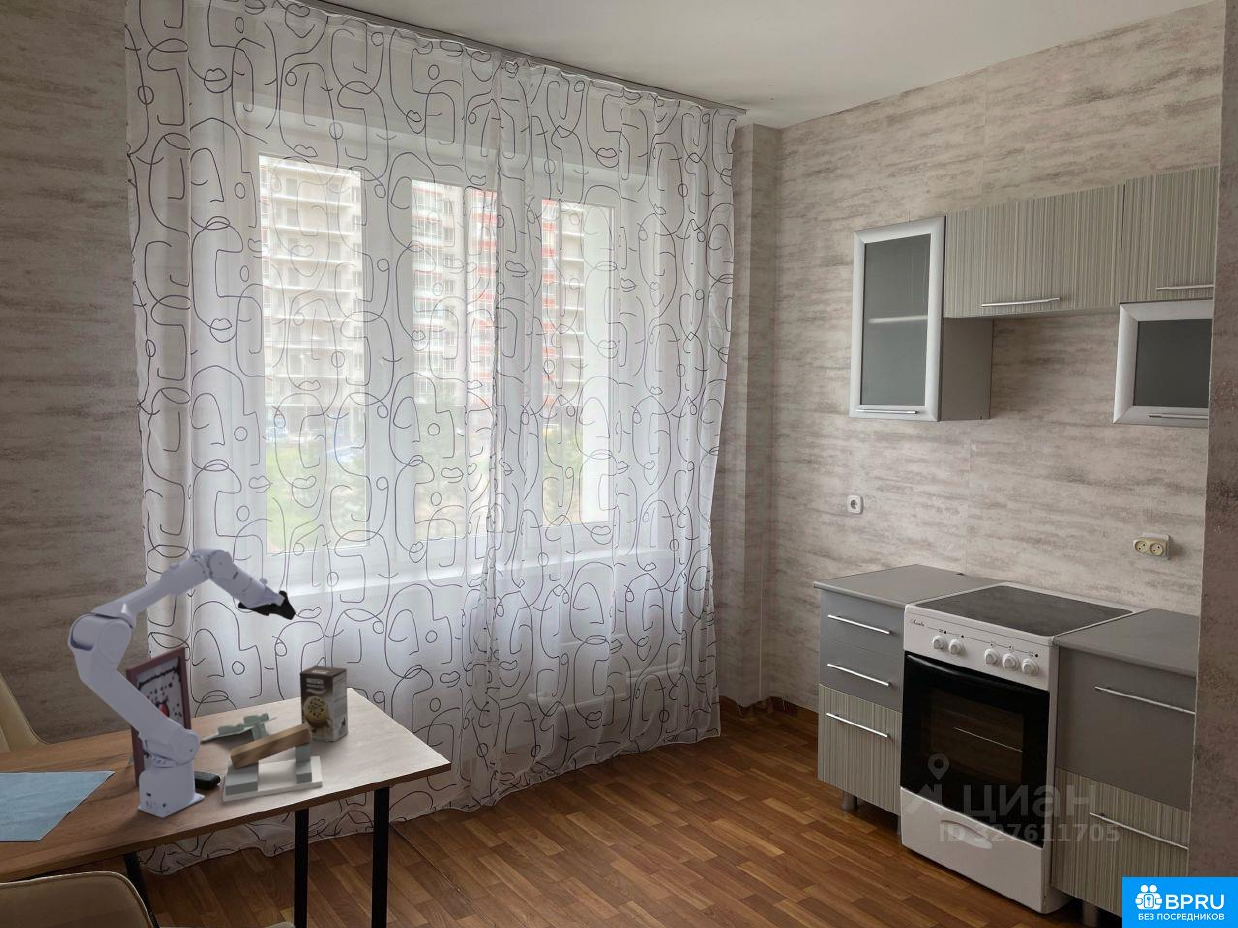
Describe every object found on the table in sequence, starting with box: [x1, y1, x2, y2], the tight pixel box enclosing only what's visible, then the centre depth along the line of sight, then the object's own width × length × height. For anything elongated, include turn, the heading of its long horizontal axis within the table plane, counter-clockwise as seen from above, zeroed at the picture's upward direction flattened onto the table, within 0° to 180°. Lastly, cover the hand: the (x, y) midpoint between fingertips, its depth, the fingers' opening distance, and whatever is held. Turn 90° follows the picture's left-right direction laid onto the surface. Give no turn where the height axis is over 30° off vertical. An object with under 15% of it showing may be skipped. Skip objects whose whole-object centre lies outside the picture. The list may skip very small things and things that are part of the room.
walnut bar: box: [229, 722, 313, 769], centre depth 189 cm, size 16×4×3 cm, turn 111°
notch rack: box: [222, 741, 323, 803], centre depth 187 cm, size 19×14×6 cm
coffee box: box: [299, 665, 349, 742], centre depth 210 cm, size 9×6×16 cm
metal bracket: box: [200, 712, 277, 743], centre depth 212 cm, size 14×6×15 cm
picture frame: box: [125, 646, 192, 786], centre depth 193 cm, size 17×10×25 cm, turn 168°
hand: (281, 614), depth 198 cm, fingers open, 7 cm apart
